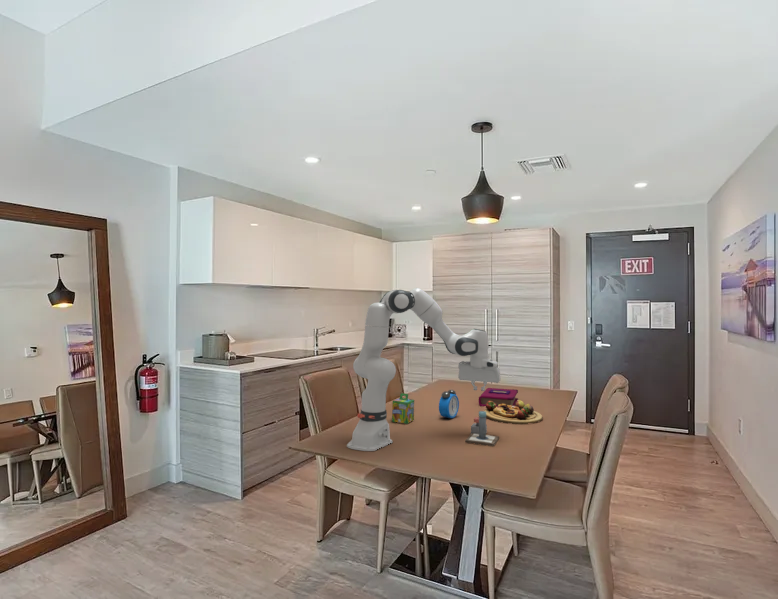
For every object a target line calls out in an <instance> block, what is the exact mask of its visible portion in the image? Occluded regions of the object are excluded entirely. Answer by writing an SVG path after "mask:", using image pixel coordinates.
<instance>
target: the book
mask: <svg viewBox="0 0 778 599" xmlns="http://www.w3.org/2000/svg"><path fill="white" fill-rule="evenodd" d="M518 393H519V390H518V389H514V388H512V389H511V388H496V387H487V388H485V391H482V393H481V394H480V395H479V397H478V406H479V405H480V406H479V407H484V406H486V404H487V402H488V401H492V402H494V403H495V404H496V407H498V405H499V404H506V405H512V406H515V403H516V402H517V400H519V398H518V397H516V396H517V394H518Z"/></svg>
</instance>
